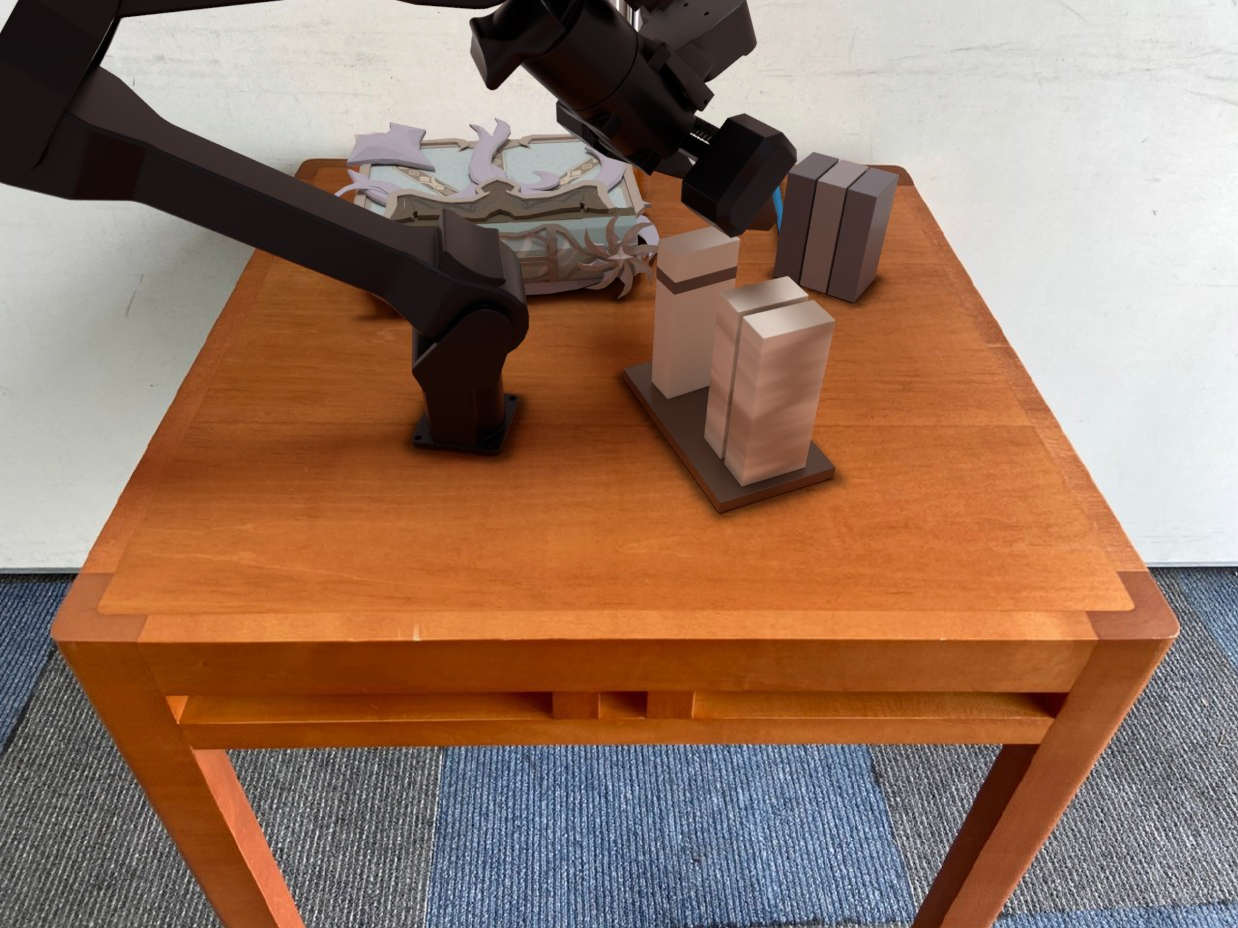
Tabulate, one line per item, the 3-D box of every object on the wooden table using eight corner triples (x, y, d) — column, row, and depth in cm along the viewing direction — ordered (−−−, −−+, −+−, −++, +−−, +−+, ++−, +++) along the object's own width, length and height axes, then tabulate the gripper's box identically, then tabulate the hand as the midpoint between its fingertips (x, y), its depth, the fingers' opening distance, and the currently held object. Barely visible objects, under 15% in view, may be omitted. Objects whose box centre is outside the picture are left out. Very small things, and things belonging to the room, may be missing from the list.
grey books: (853, 303, 79) (877, 196, 73) (772, 276, 82) (788, 171, 76) (875, 279, 82) (899, 174, 76) (796, 253, 86) (813, 151, 79)
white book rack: (718, 513, 60) (739, 353, 51) (622, 378, 71) (625, 226, 62) (833, 477, 63) (871, 319, 54) (724, 353, 74) (741, 204, 65)
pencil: (781, 256, 85) (782, 249, 84) (769, 176, 97) (770, 170, 97) (790, 256, 85) (791, 250, 84) (776, 176, 97) (777, 170, 97)
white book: (667, 399, 67) (676, 256, 59) (650, 381, 69) (657, 239, 61) (724, 381, 69) (741, 239, 61) (706, 363, 71) (720, 223, 63)
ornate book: (345, 333, 76) (694, 300, 79) (317, 229, 70) (698, 197, 72) (363, 209, 93) (651, 185, 95) (341, 116, 86) (652, 93, 89)
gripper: (796, -21, 44) (902, 147, 57) (590, -93, 56) (715, 60, 68) (660, 170, 46) (791, 293, 59) (488, 63, 58) (627, 184, 70)
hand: (728, 197), depth 64 cm, fingers open, 9 cm apart
